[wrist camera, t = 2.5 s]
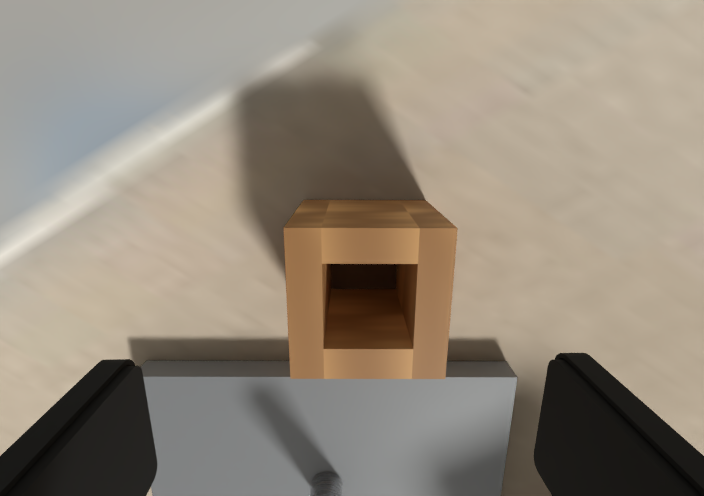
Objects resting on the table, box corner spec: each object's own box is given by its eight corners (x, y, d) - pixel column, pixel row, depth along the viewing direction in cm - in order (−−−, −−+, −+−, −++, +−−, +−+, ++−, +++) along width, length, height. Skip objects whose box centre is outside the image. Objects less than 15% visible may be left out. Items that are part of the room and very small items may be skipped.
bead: (425, 200, 19) (457, 228, 14) (419, 311, 21) (445, 379, 15) (303, 199, 19) (283, 227, 14) (307, 311, 21) (290, 378, 15)
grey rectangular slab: (506, 361, 22) (517, 377, 20) (482, 549, 26) (489, 573, 24) (146, 360, 22) (131, 376, 20) (177, 548, 26) (166, 573, 24)
